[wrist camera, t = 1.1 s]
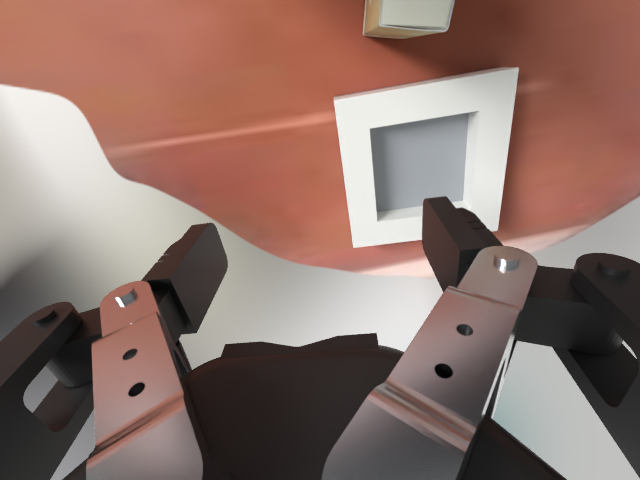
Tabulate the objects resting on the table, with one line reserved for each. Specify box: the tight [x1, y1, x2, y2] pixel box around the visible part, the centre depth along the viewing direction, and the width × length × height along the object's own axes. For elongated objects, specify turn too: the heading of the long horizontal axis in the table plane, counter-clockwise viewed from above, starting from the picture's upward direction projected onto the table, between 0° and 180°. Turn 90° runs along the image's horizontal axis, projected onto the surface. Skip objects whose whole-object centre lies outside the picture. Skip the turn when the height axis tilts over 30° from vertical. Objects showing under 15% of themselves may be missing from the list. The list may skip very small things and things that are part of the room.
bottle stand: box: [334, 67, 519, 248], centre depth 33 cm, size 16×16×4 cm
